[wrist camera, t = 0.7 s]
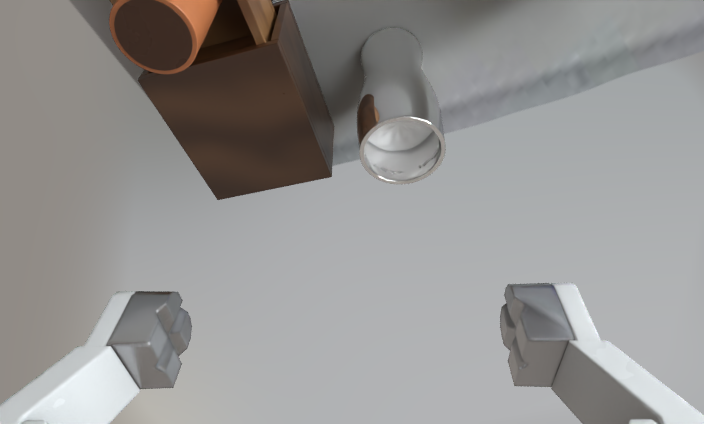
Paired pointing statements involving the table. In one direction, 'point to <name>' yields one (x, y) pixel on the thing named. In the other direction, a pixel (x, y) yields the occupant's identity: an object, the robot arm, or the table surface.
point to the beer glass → (398, 110)
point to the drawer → (238, 27)
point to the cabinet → (250, 114)
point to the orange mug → (162, 31)
